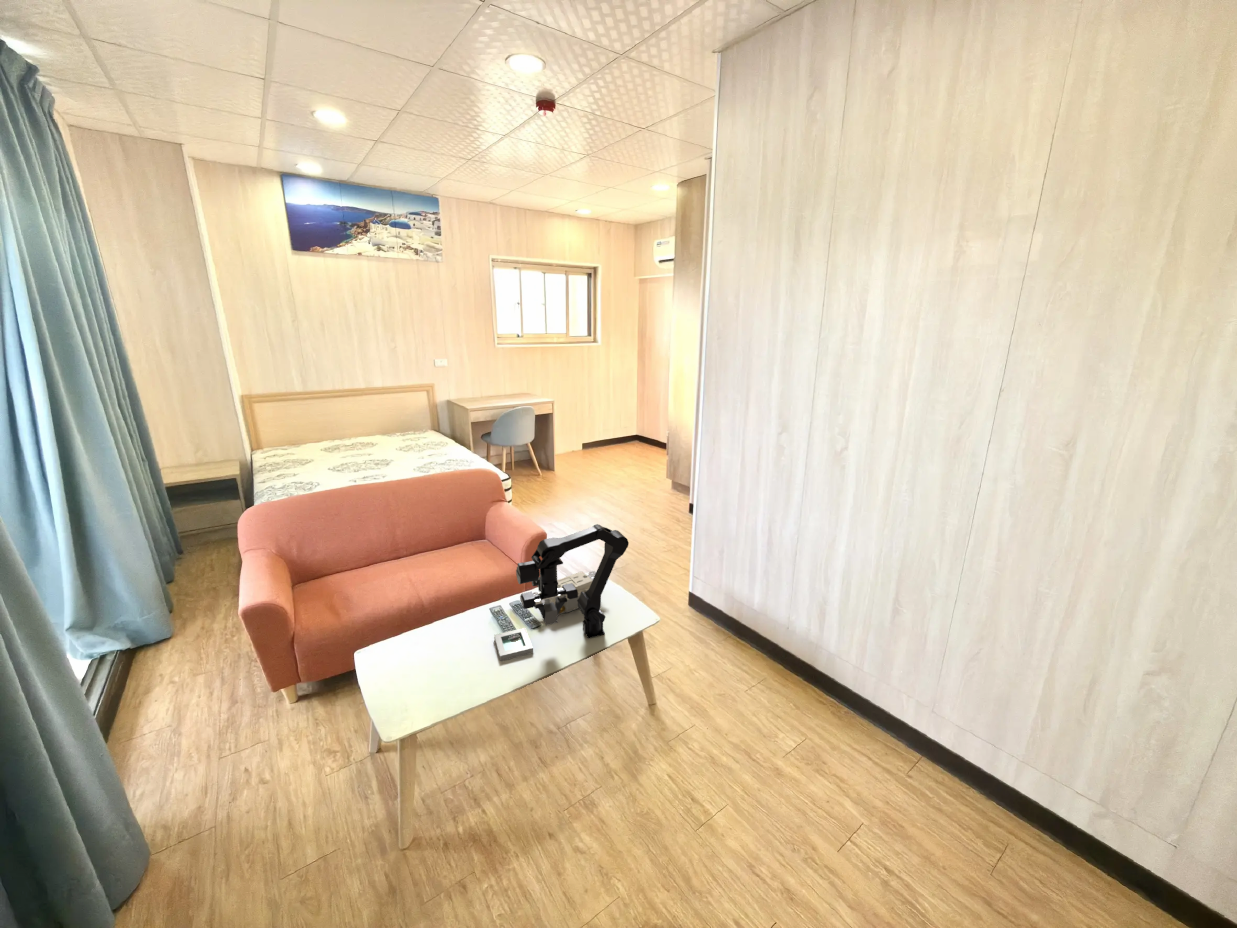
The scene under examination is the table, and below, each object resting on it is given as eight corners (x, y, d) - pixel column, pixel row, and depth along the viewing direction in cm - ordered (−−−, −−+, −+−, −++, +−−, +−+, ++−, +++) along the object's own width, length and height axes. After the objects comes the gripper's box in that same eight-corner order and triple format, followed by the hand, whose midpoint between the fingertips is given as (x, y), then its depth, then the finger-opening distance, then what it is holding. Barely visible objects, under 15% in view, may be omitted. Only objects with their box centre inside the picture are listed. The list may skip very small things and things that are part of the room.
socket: (525, 632, 174) (525, 627, 173) (533, 652, 164) (532, 647, 163) (494, 639, 170) (494, 634, 169) (500, 661, 159) (500, 656, 159)
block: (554, 614, 169) (553, 601, 167) (558, 622, 164) (557, 609, 163) (542, 617, 167) (542, 604, 165) (546, 625, 163) (545, 612, 161)
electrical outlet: (607, 599, 194) (606, 577, 191) (542, 626, 180) (539, 603, 177) (593, 585, 203) (591, 565, 200) (530, 610, 189) (527, 588, 186)
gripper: (568, 560, 171) (568, 599, 176) (515, 570, 164) (517, 610, 169) (578, 575, 162) (578, 616, 166) (522, 587, 154) (525, 628, 159)
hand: (549, 617), depth 165 cm, fingers closed on block, 4 cm apart
